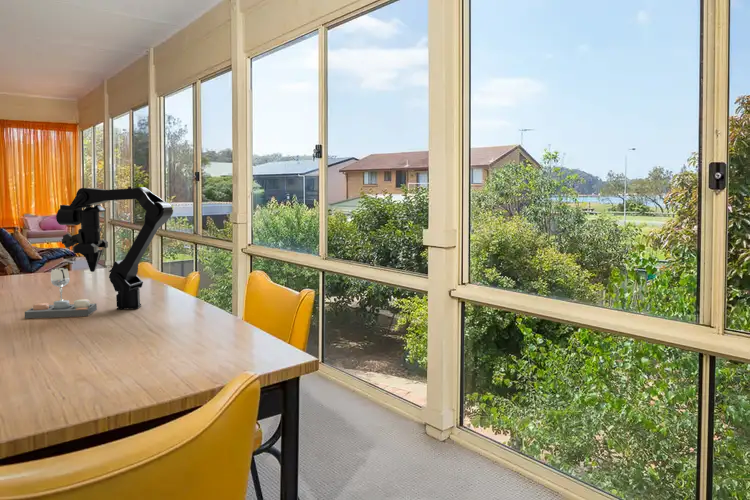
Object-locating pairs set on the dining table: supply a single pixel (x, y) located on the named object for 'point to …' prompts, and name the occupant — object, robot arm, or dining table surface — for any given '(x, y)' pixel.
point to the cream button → (81, 303)
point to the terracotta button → (41, 306)
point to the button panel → (60, 312)
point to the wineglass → (60, 278)
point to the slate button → (61, 304)
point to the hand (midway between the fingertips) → (92, 271)
